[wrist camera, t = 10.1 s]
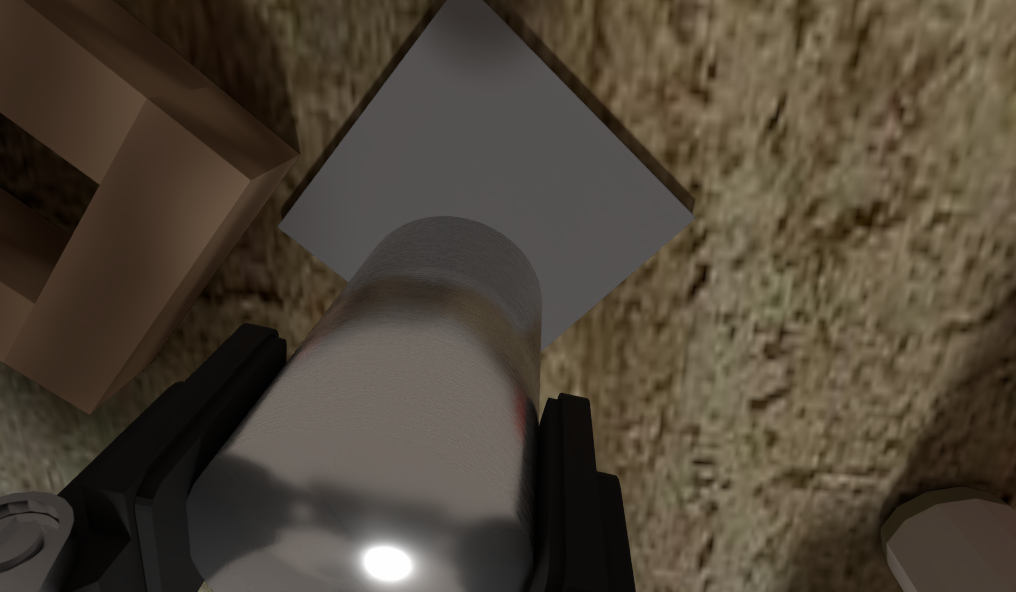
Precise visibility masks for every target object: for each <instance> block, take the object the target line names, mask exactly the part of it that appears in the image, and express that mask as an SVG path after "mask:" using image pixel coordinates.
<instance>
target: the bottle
mask: <svg viewBox="0 0 1016 592" xmlns="http://www.w3.org/2000/svg"><path fill="white" fill-rule="evenodd" d="M881 549H882V551H883V554H884V557H885V559H886V562H887V565H888V566H889V568H890V570H891V571H892V573H893V575H894V576H895V578H896V580H897V581H898V583H899V585H900V586H901V588H902V590H903V591H904V592H1016V512H1015V511H1014V510H1013V509H1012V508H1011V507H1010V506H1009V505H1008V504H1006V503H1005V502H1004V501H1002V500H1001V499H1000V498H998V497H997V496H995V495H994V494H993V493H989V492H984V491H980V490H975V489H971V488H966V487H955V488H949V489H942V490H935V491H928V492H925V493H923V494H921V495H919V496H918V497H916V498H914V499H912V500H910V501H908V502H906V503H904V504H902V505H900V506H898V507H897V508H896V509H895V510H894V512H893V513H892V514H891V515H890V517H889V518H888V519H887V521H886V522H885V523H884V524H883V526H882V527H881Z"/></svg>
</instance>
